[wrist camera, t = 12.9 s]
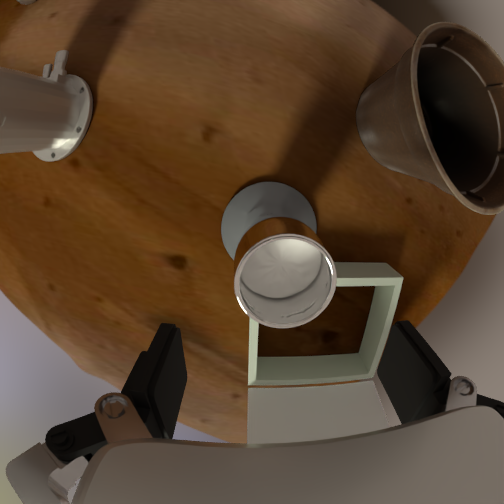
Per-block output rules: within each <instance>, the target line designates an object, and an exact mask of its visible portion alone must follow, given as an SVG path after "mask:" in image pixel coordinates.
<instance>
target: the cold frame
mask: <svg viewBox="0 0 504 504" xmlns="http://www.w3.org/2000/svg"><path fill="white" fill-rule="evenodd" d="M334 264H335V268H336V274H337V283H336V286H375V291H374V295H373V300H372V304H371V308H370V313H369V317H368V321H367V325H366V328H365V332H364V336H363V339H362V343H361V346H360V350H359V353H352V354H339V355H323V356H298V357H257V348H258V325H259V323H258V322H256V321H255V320H253V319H252V318H251V317H250V328H249V372H248V385H298V384H317V383H330V382H341V381H351V380H359V379H366V378H373V376H374V374H375V371H376V368H377V366H378V363H379V360H380V357H381V354H382V352H383V349H384V346H385V343H386V340H387V337H388V333H389V330H390V327H391V324H392V320H393V317H394V313H395V310H396V306H397V302H398V298H399V294H400V290H401V286H402V282H403V278H404V277H402V276H401V275H400V274H399V273H398V272H397V271H395V270H394V269H393V268H392V267H391V266H389V265H388V264H387V263H364V262H334Z"/></svg>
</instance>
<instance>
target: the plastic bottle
mask: <svg viewBox="0 0 504 504" xmlns="http://www.w3.org/2000/svg"><path fill="white" fill-rule="evenodd" d="M17 1H18V2H20V3H21V4H26V5H27V4H31V3H33V2H35V1H36V0H17Z"/></svg>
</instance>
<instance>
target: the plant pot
mask: <svg viewBox="0 0 504 504" xmlns="http://www.w3.org/2000/svg"><path fill="white" fill-rule="evenodd" d="M421 107H422V109H423V111H424V113H425V115H426V118H427V122H428V124H427V123H426V122H425V120H424V117H423V113H422V109H421ZM356 124H357V129H358V132H359V135H360V138H361V140H362V142H363V144H364V146H365V148H366V149H367V151H368V152H369V154H370V155H371V156H372V157H373V158H374V159H375V160H376V161H377V162H378V163H380V164H381V165H383V166H385V167H386V168H388V169H390V170H393V171H396V172H400V173H403V174H406V175H409V176H412V177H415V178H418V179H421V180H424V181H427V182H429V183H432V184H434V185H436V186H437V187H438V188H440V189H441V190H443V191H445V192H446V193H449V194H451V195H453V196H454V197H455V198H456V199H457V200H458V201H460V202H461V203H462V204H463V205H464V206H466V207H467V208H469V209H471V210H473V211H475V212H478V213H480V214H485V215H492V214H497V213H500V212H502V211H503V210H504V62H503V60H502V59H501V58H500V56H499V55H498V54H497V53H496V52H495V50H494V49H493V48H492V47H491V46H490V45H489V44H488V43H487V42H486V41H484V40H483V39H482V38H481V37H480V36H478V35H477V34H476V33H474V32H473V31H471V30H469V29H468V28H466V27H463V26H461V25H459V24H456V23H451V22H438V23H434V24H431V25H429V26H428V27H427V28H425V29H424V30H423V31H422V32H421V33H420V34H419V35H418V37H417V38H416V40H415V42H414V44H413V46H412V47H411V48H410V49H408V50H407V51H406V52H405V54H404V55H403V56H402V58H401V60H400V61H399V62H398V63H397V64H396V65H394V66H393V67H392V68H391V69H390V70H388V71H387V72H386V73H385V74H383V75H382V76H381V77H380V78H378V79H377V80H376V81H375V82H374V83H372V84H371V85H370V86H369V87H367V88H366V89H365V91H364V92H363V93H362V95H361V97H360V100H359V103H358V107H357V110H356Z"/></svg>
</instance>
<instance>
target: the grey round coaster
mask: <svg viewBox="0 0 504 504" xmlns="http://www.w3.org/2000/svg"><path fill="white" fill-rule="evenodd" d="M267 203H274V204H278V205H281V206H283V207H285V208H287V209H288V210H289V211H290V212H291V213H292V215H293V216H294V217H295V218H297V219H299V220H301V221H303V222H304V223H305V224H307V225H308V226H309V227H310V228H311V229H312V230H313V231H314V232H315V233H316V230H317V225H316V218H315V214H314V212H313V209H312V207H311V205H310V204H309V202H308V201H307V199H306V198H305V197H304V196H303V195H302V194H301V193H300V192H298V191H297V190H295V189H294V188H292V187H290V186H288V185H285V184H283V183H279V182H271V181H270V182H259V183H256V184H252V185H250V186H248V187H246V188H244V189H243V190H241V191H240V192H239V193H237V194H236V195H235V196H234V197H233V199H232V200H231V201H230V203H229V204H228V206H227V208H226V210H225V212H224V215H223V218H222V225H221V233H222V239H223V243H224V246H225V248H226V250H227V252H228V253H229V255H230V256H231V258H232V259H233V260H234V257H235V251H236V248H237V244H238V241H239V239H240V237H241V235H242V234H243V232H244V230H243V229H244V223H245V220H246V218H247V216H248V214H249V213H250V212H251V211H252V210H253V209H254V208H256V207H258V206H260V205H262V204H267Z"/></svg>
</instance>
